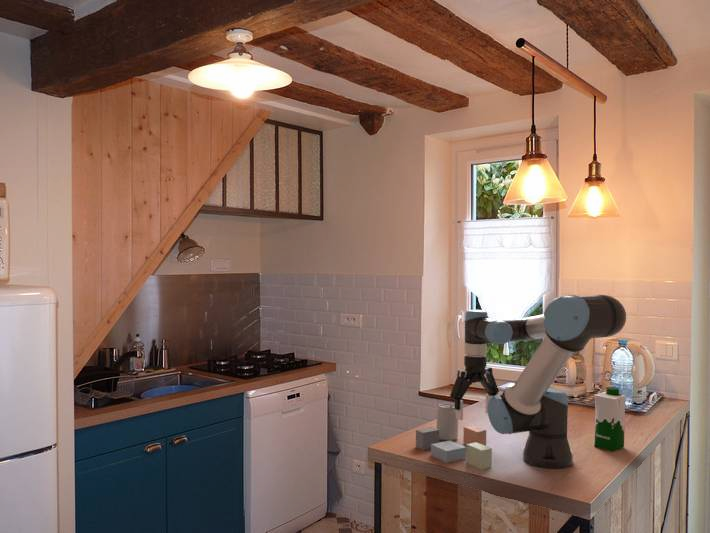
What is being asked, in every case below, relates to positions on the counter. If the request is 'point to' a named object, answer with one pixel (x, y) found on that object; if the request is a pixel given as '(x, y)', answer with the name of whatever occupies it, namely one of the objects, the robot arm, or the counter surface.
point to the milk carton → (609, 419)
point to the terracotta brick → (474, 435)
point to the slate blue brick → (448, 451)
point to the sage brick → (479, 455)
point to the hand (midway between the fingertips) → (474, 416)
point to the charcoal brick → (426, 437)
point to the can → (447, 422)
